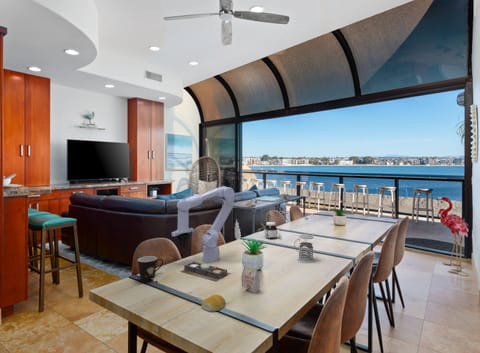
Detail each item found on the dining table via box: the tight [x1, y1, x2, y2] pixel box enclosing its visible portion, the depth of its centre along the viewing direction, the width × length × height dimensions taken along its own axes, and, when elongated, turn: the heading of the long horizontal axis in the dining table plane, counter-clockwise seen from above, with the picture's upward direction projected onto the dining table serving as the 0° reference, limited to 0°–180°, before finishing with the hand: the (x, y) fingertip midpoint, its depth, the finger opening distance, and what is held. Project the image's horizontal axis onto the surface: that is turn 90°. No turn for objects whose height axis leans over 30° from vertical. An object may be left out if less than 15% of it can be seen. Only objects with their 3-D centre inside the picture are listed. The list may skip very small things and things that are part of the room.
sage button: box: [201, 263, 211, 270], centre depth 143 cm, size 4×4×2 cm
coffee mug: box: [137, 255, 164, 283], centre depth 138 cm, size 12×9×10 cm
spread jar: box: [263, 221, 282, 240], centre depth 218 cm, size 12×11×12 cm
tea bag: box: [241, 265, 260, 294], centre depth 126 cm, size 4×7×10 cm, turn 51°
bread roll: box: [201, 294, 227, 312], centre depth 112 cm, size 8×9×4 cm
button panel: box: [179, 261, 232, 283], centre depth 143 cm, size 12×23×4 cm, turn 57°
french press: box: [293, 216, 315, 264], centre depth 165 cm, size 10×12×25 cm
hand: (182, 247), depth 156 cm, fingers closed
